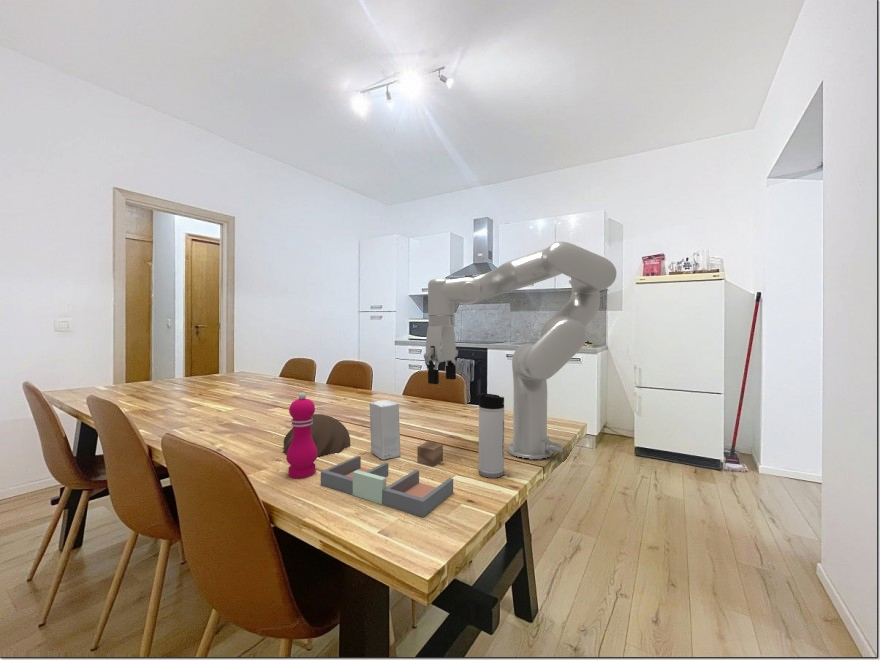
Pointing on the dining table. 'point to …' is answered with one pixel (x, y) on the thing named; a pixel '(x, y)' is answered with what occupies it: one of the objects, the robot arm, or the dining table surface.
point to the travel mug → (491, 435)
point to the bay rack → (373, 487)
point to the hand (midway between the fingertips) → (442, 381)
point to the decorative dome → (324, 435)
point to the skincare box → (385, 429)
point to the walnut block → (430, 453)
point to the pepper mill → (301, 439)
